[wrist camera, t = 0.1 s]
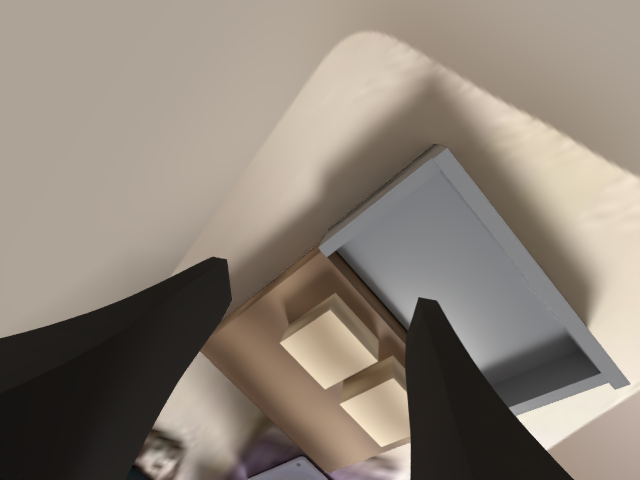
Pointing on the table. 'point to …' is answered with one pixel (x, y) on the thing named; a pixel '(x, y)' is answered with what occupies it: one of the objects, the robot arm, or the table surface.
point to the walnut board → (286, 372)
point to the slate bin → (471, 282)
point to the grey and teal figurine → (135, 475)
